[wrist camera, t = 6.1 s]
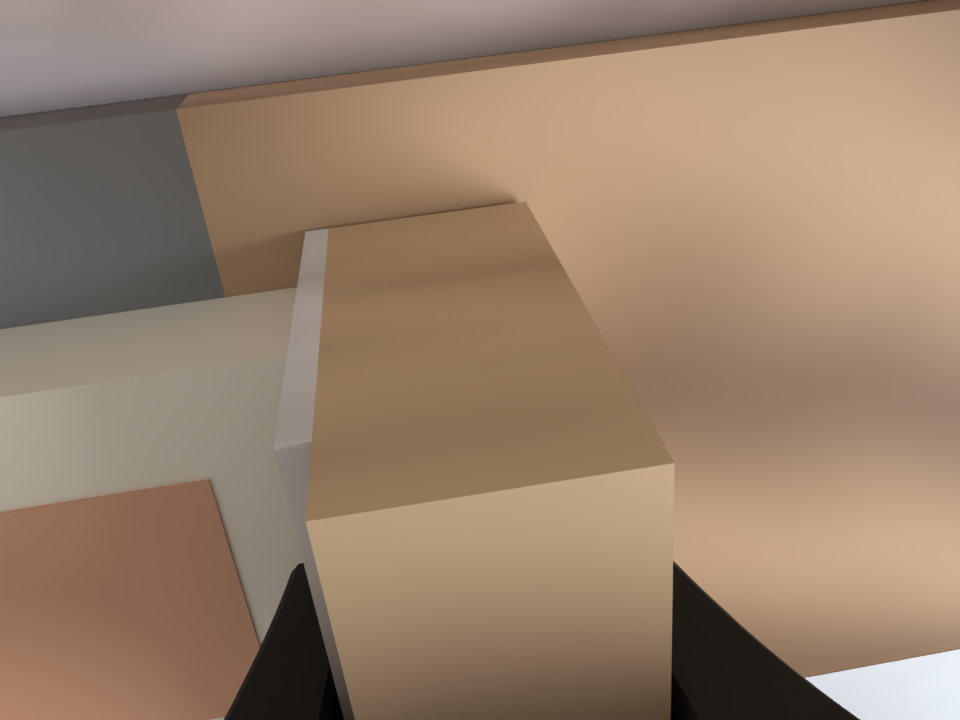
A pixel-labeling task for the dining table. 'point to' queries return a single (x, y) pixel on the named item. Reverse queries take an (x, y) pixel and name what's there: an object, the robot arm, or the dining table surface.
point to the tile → (141, 508)
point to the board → (617, 267)
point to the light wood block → (472, 479)
